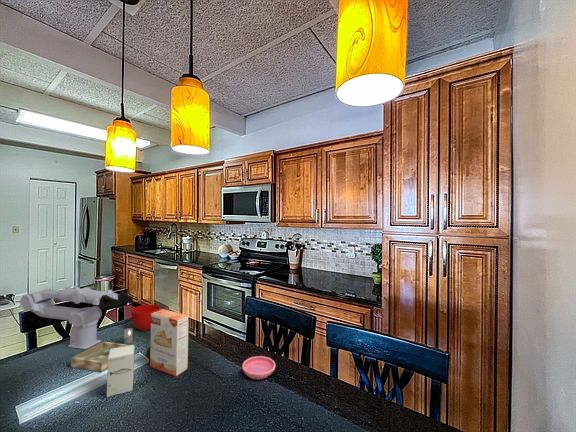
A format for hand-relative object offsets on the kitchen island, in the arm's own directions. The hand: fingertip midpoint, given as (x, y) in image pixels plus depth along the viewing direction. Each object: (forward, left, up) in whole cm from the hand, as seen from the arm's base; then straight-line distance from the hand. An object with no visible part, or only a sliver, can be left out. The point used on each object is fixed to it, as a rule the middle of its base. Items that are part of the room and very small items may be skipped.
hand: (125, 301), depth 116 cm
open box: (-2, -9, -21) cm, 23 cm away
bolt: (+16, +4, -21) cm, 27 cm away
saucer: (+61, -2, -21) cm, 65 cm away
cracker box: (+27, -8, -21) cm, 35 cm away
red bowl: (-6, +21, -21) cm, 30 cm away
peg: (-2, +4, -21) cm, 21 cm away
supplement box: (+19, -22, -21) cm, 36 cm away
